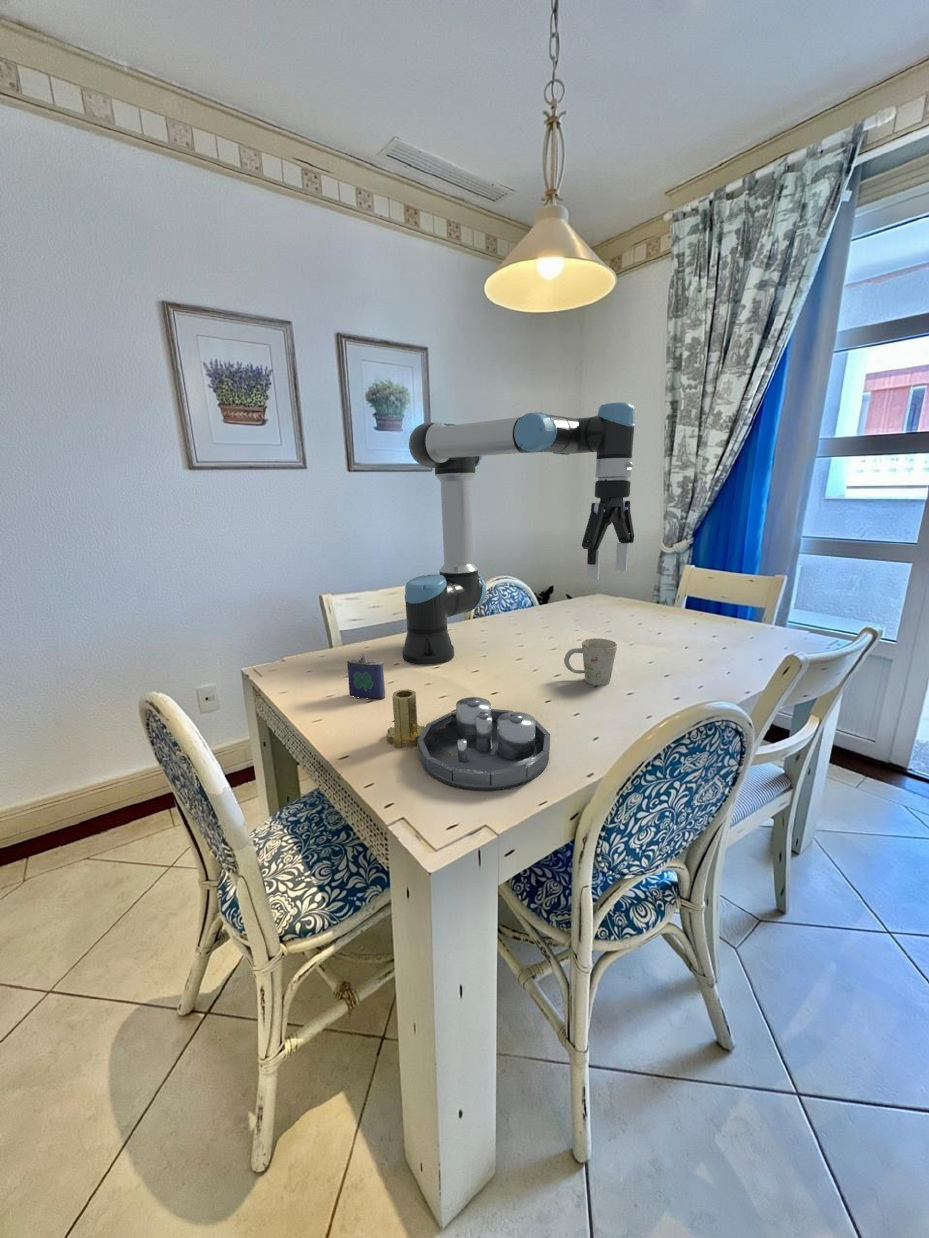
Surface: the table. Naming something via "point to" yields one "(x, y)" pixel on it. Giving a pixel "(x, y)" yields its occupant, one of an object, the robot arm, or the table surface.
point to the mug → (595, 660)
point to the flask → (366, 678)
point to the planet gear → (404, 720)
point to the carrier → (484, 747)
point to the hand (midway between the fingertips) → (607, 574)
